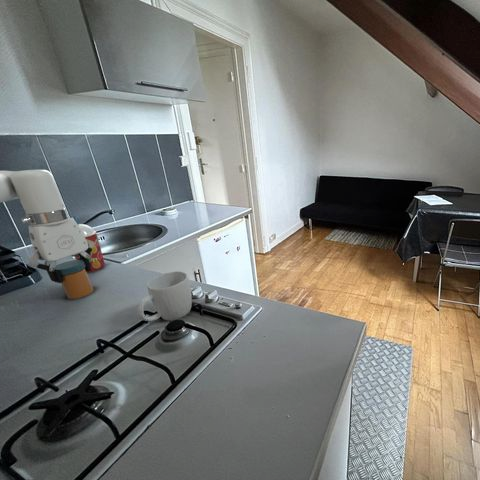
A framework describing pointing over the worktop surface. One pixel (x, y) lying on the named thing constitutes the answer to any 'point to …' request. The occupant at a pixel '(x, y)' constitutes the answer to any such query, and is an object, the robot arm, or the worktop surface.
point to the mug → (168, 296)
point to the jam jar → (77, 284)
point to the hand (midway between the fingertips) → (73, 275)
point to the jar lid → (70, 267)
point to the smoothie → (96, 253)
